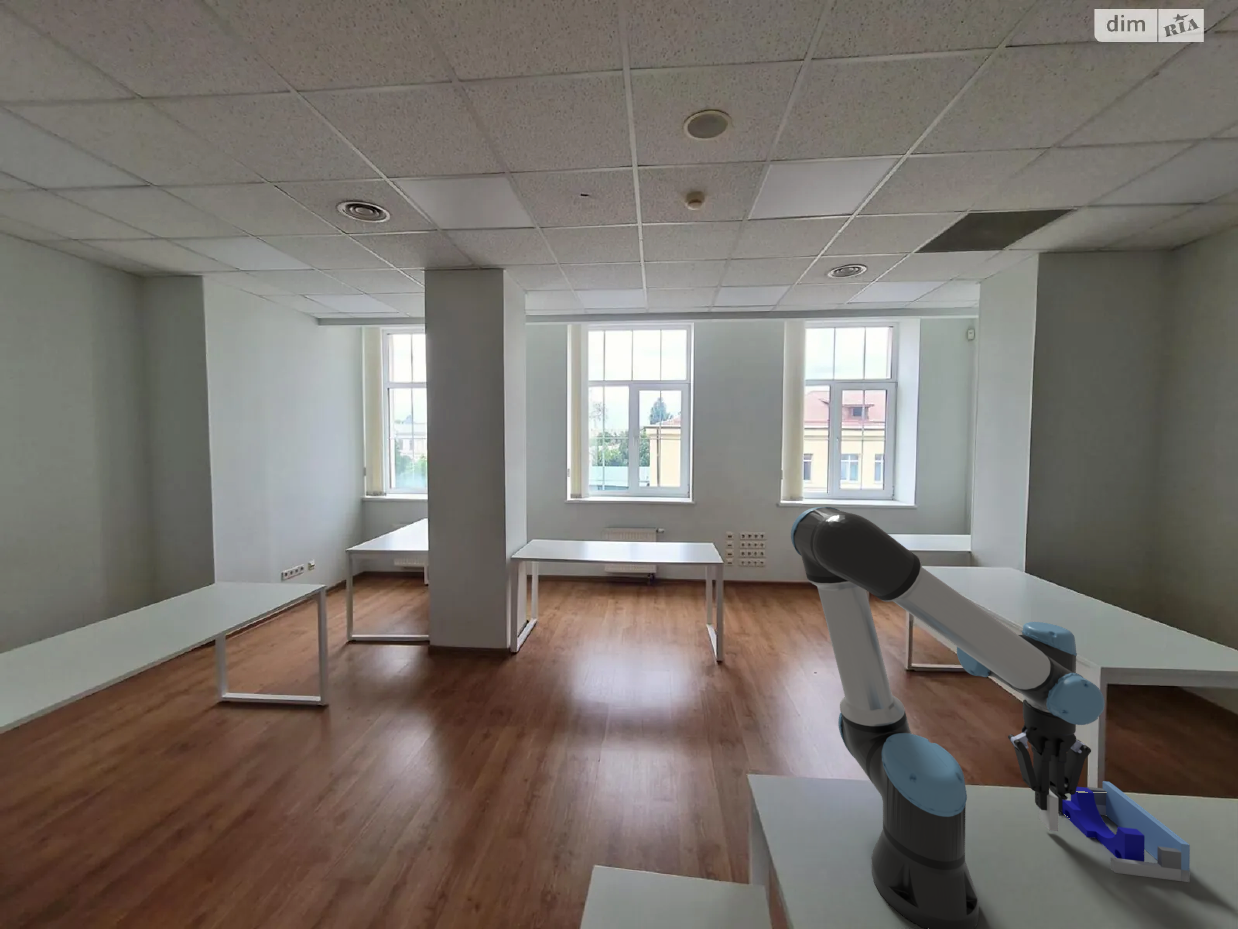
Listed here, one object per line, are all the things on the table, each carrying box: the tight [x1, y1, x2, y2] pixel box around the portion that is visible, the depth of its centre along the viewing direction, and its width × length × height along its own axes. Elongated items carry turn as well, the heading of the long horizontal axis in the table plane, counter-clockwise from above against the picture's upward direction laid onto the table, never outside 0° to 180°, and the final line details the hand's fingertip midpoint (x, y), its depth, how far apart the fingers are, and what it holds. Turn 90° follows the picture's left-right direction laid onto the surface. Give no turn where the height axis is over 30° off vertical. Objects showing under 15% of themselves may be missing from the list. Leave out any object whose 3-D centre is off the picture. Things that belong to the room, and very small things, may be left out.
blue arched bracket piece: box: [1061, 786, 1145, 862], centre depth 88 cm, size 12×4×6 cm, turn 170°
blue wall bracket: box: [1067, 780, 1191, 883], centre depth 87 cm, size 11×16×6 cm
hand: (1048, 825), depth 89 cm, fingers closed
